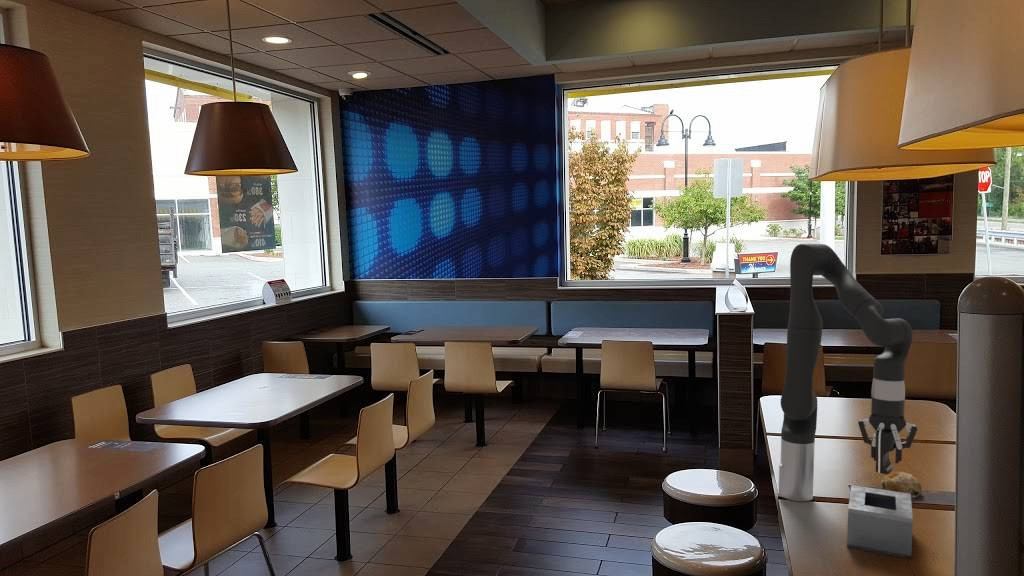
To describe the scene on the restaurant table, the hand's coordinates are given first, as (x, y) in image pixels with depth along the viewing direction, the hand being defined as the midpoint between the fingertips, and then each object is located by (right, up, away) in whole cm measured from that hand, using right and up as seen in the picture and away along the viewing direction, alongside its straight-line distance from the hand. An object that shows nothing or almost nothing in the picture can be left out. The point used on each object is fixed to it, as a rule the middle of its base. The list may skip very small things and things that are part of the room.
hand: (886, 460), depth 181 cm
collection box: (-3, -20, -1) cm, 20 cm away
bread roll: (+21, -17, +31) cm, 41 cm away
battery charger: (0, -3, 0) cm, 3 cm away
